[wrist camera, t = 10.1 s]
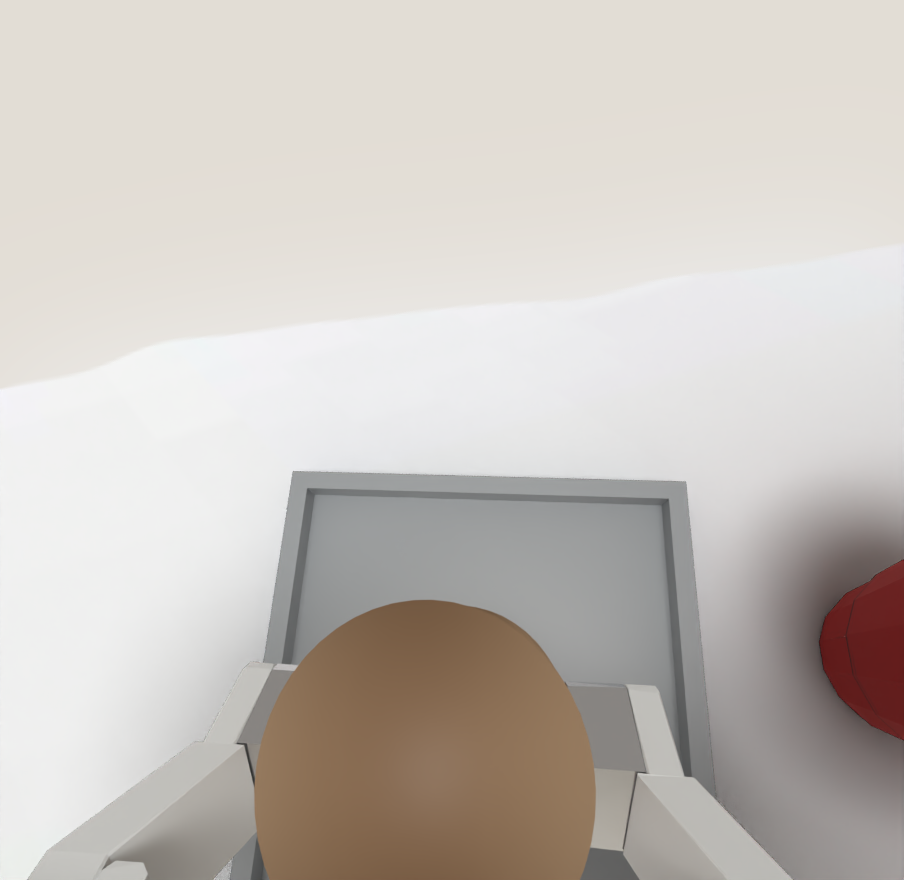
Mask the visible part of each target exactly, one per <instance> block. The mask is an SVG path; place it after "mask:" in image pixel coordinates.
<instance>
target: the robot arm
mask: <svg viewBox="0 0 904 880" xmlns="http://www.w3.org/2000/svg"><path fill="white" fill-rule="evenodd" d="M297 667H298V665H290V664H279V663H278V664H273V663H261V662H250V663H249V664H248V665H247V666H246V667H245V668H244V669H243V670H242V672H241V674H240V675H239V677H238V679H237V681H236V683H235V685H234V686H233V688H232V690H231V692H230V694H229V696H228V697H227V699H226V701H225V703H224V705H223V707H222V708H221V710H220V712H219V714H218V716H217V718H216V719H215V721H214V723H213V725H212V727H211V728H210V730H209V732H208V734H207V736H206V738H205V739H204V741H203V742H199V741H195V742H193V743H192V744H191V745H189V746H188V747H187V748H185V749H184V750H182V751H181V752H180V753H178V754H177V755H176V756H174V757H173V758H172V759H170V760H169V761H168V762H166V763H165V764H164V765H162V766H161V767H159V768H158V769H157V770H155V771H154V772H153V773H151V774H150V775H149V776H147V777H146V778H145V779H143V780H142V781H141V782H139V783H138V784H136V785H135V786H134V787H132V788H131V789H130V790H128V791H127V792H126V793H124V794H123V795H122V796H120V797H119V798H117V799H116V800H115V801H113V802H112V803H111V804H109V805H108V806H107V807H105V808H104V809H103V810H101V811H100V812H99V813H97V814H96V815H94V816H93V817H92V818H90V819H89V820H88V821H86V822H85V823H84V824H82V825H81V826H80V827H78V828H77V829H76V830H74V831H73V832H71V833H70V834H69V835H67V836H66V837H65V838H63V839H62V840H61V841H59V842H58V843H57V844H55V845H54V846H53V847H51V848H50V849H48V850H47V851H46V853H45V854H44V856H43V857H42V859H41V860H40V862H39V863H38V864H37V866H36V867H35V869H34V870H33V872H32V873H31V875H30V876H29V877H28V879H27V880H213V879H214V878H215V877H216V875H217V874H218V873H219V872H220V871H221V870H222V869H223V868H224V867H225V866H226V864H227V863H228V862H229V861H230V860H231V859H232V858H233V857H234V856H235V855H236V853H237V852H238V851H239V850H240V849H241V848H242V847H243V846H244V845H245V844H246V843H247V841H248V840H249V839H250V838H251V837H252V836H253V835H254V834H255V833H256V832H257V829H256V822H255V809H254V786H255V775H256V765H257V759H258V755H259V750H260V745H261V740H262V737H263V734H264V731H265V728H266V725H267V722H268V719H269V716H270V714H271V711H272V709H273V707H274V705H275V703H276V700H277V698H278V696H279V694H280V693H281V691H282V689H283V688H284V686H285V684H286V683H287V681H288V679H289V677H290V676H291V674H292V673H293V672H294V671H295V669H296V668H297ZM565 685H566V686H567V688H568V689H569V691H570V693H571V695H572V697H573V699H574V701H575V704H576V706H577V708H578V710H579V712H580V714H581V717H582V720H583V723H584V726H585V729H586V732H587V735H588V739H589V743H590V748H591V753H592V758H593V763H594V773H595V784H596V807H595V821H594V828H593V835H592V842H591V846H590V848H599V849H608V850H617V851H624V852H623V855H624V856H625V858H626V859H627V861H628V863H629V864H630V866H631V867H632V869H633V870H634V872H635V873H636V875H637V876H638V878H639V880H793V879H792V878H791V877H790V876H789V875H788V874H787V873H786V872H785V871H784V870H783V869H782V868H781V867H780V866H779V865H778V863H777V862H776V861H775V860H774V859H773V858H772V857H771V856H770V855H769V854H768V853H767V852H766V851H765V850H764V849H763V848H762V847H761V846H760V845H759V844H758V843H757V842H756V841H755V840H754V839H753V838H752V837H751V836H750V835H749V833H748V832H747V831H746V830H745V829H744V828H743V827H742V826H741V825H740V824H739V823H738V822H737V821H736V820H735V819H734V818H733V817H732V816H731V815H730V814H729V813H728V812H727V811H726V810H725V809H724V808H723V807H722V806H721V804H720V803H719V802H718V801H717V800H716V799H715V798H714V797H713V796H712V795H711V794H710V793H709V792H708V791H707V790H706V789H705V788H704V787H703V786H702V785H701V784H700V783H699V782H698V781H697V780H696V779H695V778H694V777H685V776H684V773H683V769H682V766H681V763H680V759H679V756H678V753H677V749H676V746H675V742H674V739H673V736H672V732H671V729H670V726H669V722H668V719H667V716H666V712H665V709H664V706H663V702H662V699H661V696H660V692H659V690H658V689H657V688H656V686H651V685H632V684H625V685H623V684H616V683H595V682H574V681H565Z"/></svg>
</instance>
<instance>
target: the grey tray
mask: <svg viewBox="0 0 904 880" xmlns="http://www.w3.org/2000/svg"><path fill="white" fill-rule="evenodd" d="M410 600H440V601H448V602H455V603H458V604H462V605H466V606H471V607H477V608H481V609H485V610H489V611H491V612H494V613H496V614H499V615H501V616H503V617H505V618H507V619H509V620H510V621H512V622H514V623H515V624H517V625H518V626H519V627H521V628H522V629H523V630H525V631H526V632H527V633H528V634H529V635H530V636H531V637H532V638H533V639H534V640H535V641H536V642H537V643H538V644H539V646H540V647H541V648H542V649H543V651H544V652H545V653H546V655H547V656H548V658H549V659H550V661H551V663H552V664H553V666H554V668H555V669H556V670H557V672H558V673H559V675H560V676H561V678H562V680H563V681H564V683H565V681H574V682H595V683H616V684H623V685H625V684H632V685H651V686H656V688H657V689H658V690H659V692H660V696H661V699H662V702H663V706H664V709H665V712H666V716H667V719H668V722H669V726H670V729H671V732H672V736H673V739H674V742H675V746H676V749H677V753H678V756H679V759H680V763H681V766H682V769H683V773H684V776H685V777H694V778H695V779H696V780H697V781H698V782H699V783H700V784H701V785H702V786H703V787H704V788H705V789H706V790H707V791H708V792H709V793H710V794H711V795H712V796H713V797H714V798H715V799H716V792H715V782H714V771H713V761H712V750H711V740H710V729H709V719H708V708H707V697H706V687H705V676H704V666H703V655H702V645H701V634H700V624H699V613H698V603H697V592H696V581H695V571H694V560H693V550H692V539H691V529H690V518H689V508H688V497H687V486H686V482H681V481H643V480H605V479H568V478H530V477H492V476H455V475H417V474H379V473H342V472H304V471H293V473H292V480H291V486H290V493H289V499H288V506H287V512H286V519H285V525H284V532H283V538H282V545H281V551H280V558H279V564H278V570H277V577H276V583H275V590H274V596H273V603H272V609H271V616H270V622H269V629H268V635H267V642H266V648H265V655H264V661H263V663H273V664H278V663H279V664H290V665H299V664H300V663H301V661H302V660H303V659H304V658H305V656H306V655H307V654H308V653H309V652H310V651H311V650H312V649H313V648H314V647H315V646H316V645H317V644H318V643H319V642H320V641H321V640H323V639H324V638H325V637H326V636H328V635H329V634H330V633H331V632H333V631H334V630H335V629H336V628H338V627H340V626H341V625H343V624H345V623H346V622H348V621H349V620H351V619H353V618H354V617H357V616H359V615H361V614H363V613H366V612H368V611H370V610H372V609H375V608H378V607H382V606H385V605H388V604H392V603H397V602H404V601H410ZM623 852H624V851H617V850H608V849H599V848H590V850H589V853H588V857H587V861H586V864H585V868H584V871H583V873H582V876H581V878H580V880H639V878H638V876H637V875H636V873H635V872H634V870H633V869H632V867H631V866H630V864H629V863H628V861H627V859H626V858H625V856H624V855H623ZM230 880H270V879H269V877H268V874H267V871H266V869H265V866H264V863H263V859H262V855H261V851H260V847H259V843H258V837H257V832H256V833H255V834H254V835H253V836H252V837H251V838H250V839H249V840H248V841H247V843H246V844H245V845H244V846H243V847H242V848H241V849H240V850H239V851H238V852H237V853H236V855H235V856H234V857H233V862H232V868H231V875H230Z"/></svg>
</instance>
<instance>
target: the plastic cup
mask: <svg viewBox="0 0 904 880" xmlns="http://www.w3.org/2000/svg"><path fill="white" fill-rule="evenodd" d="M819 644H820V650H821V656H822V662H823V668H824V671H825V673H826V675H827V676H828V678H829V680H830V682H831V683H832V685H833V687H834V689H835V690H836V692H837V694H838V696H839V697H840V698H841V699H842V700H843V701H844V702H845V703H846V704H847V705H848V706H850V707H851V708H852V709H853V710H854V711H855V712H856V713H857V714H858V715H859V716H860V717H861V718H863V719H864V720H866V721H867V722H868V723H869V724H870V725H871V726H873V727H875V728H878V729H880V730H882V731H884V732H886V733H889V734H891V735H893V736H895V737H897V738H900V739H902V740H904V559H903V560H901V561H900V562H898V563H896V564H894V565H893V566H891V567H889V568H887V569H885V570H884V571H882V572H880V573H878V574H877V575H875V576H874V577H873V578H872V580H871V581H869V582H868V583H866V584H864V585H862V586H860V587H858V588H856V589H854V590H852V591H850V592H848V593H846V594H845V595H844V596H843V597H842V599H841V600H840V601H839V602H838V603H837V604H836V605H835V607H834V608H833V609H832V610H831V611H830V612H829V613H828V615H827V616H826V617H825V620H824V624H823V628H822V632H821V636H820V640H819Z"/></svg>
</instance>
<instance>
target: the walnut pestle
mask: <svg viewBox="0 0 904 880" xmlns="http://www.w3.org/2000/svg"><path fill="white" fill-rule="evenodd" d="M595 807H596V784H595V773H594V763H593V758H592V753H591V748H590V743H589V739H588V735H587V732H586V729H585V726H584V723H583V720H582V717H581V714H580V712H579V710H578V708H577V706H576V704H575V701H574V699H573V697H572V695H571V693H570V691H569V689H568V688H567V686H566V685H565V683H564V681H563V680H562V678H561V676H560V675H559V673H558V672H557V670H556V669H555V668H554V666H553V664H552V663H551V661H550V659H549V658H548V656H547V655H546V653H545V652H544V651H543V649H542V648H541V647H540V646H539V644H538V643H537V642H536V641H535V640H534V639H533V638H532V637H531V636H530V635H529V634H528V633H527V632H526V631H525V630H523V629H522V628H521V627H519V626H518V625H517V624H515V623H514V622H512V621H510V620H509V619H507V618H505V617H503V616H501V615H499V614H496V613H494V612H491V611H489V610H485V609H481V608H477V607H471V606H466V605H462V604H458V603H455V602H448V601H440V600H410V601H404V602H397V603H392V604H388V605H385V606H382V607H378V608H375V609H372V610H370V611H368V612H366V613H363V614H361V615H359V616H357V617H354V618H353V619H351V620H349V621H348V622H346V623H345V624H343V625H341V626H340V627H338V628H336V629H335V630H334V631H333V632H331V633H330V634H329V635H328V636H326V637H325V638H324V639H323V640H321V641H320V642H319V643H318V644H317V645H316V646H315V647H314V648H313V649H312V650H311V651H310V652H309V653H308V654H307V655H306V656H305V658H304V659H303V660H302V661H301V663H300V664H299V665H298V667H297V668H296V669H295V671H294V672H293V673H292V674H291V676H290V677H289V679H288V681H287V683H286V684H285V686H284V688H283V689H282V691H281V693H280V694H279V696H278V698H277V700H276V703H275V705H274V707H273V709H272V711H271V714H270V716H269V719H268V722H267V725H266V728H265V731H264V734H263V737H262V740H261V745H260V750H259V755H258V759H257V765H256V775H255V786H254V809H255V822H256V829H257V837H258V843H259V847H260V851H261V855H262V859H263V863H264V866H265V869H266V871H267V874H268V877H269V879H270V880H580V878H581V876H582V873H583V871H584V868H585V864H586V861H587V857H588V853H589V850H590V846H591V842H592V835H593V828H594V821H595Z"/></svg>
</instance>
